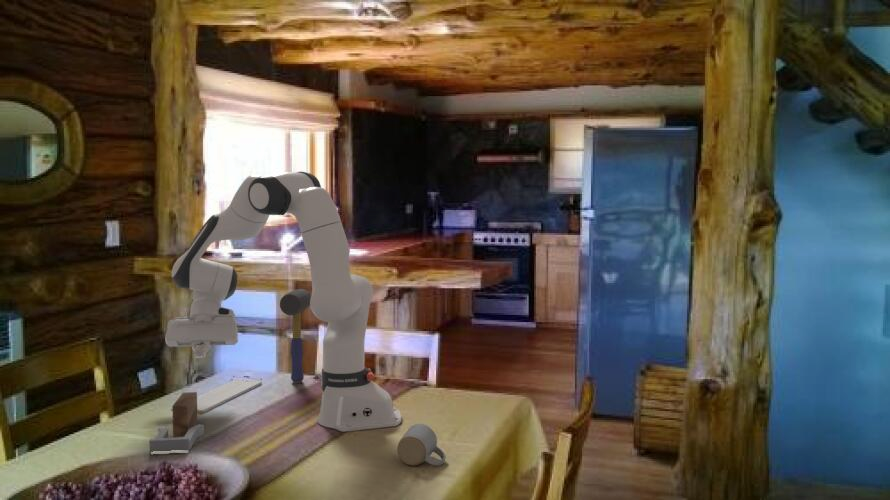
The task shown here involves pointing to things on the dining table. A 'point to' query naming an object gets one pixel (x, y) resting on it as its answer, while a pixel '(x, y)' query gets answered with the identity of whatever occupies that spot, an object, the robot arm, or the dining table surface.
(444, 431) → the dining table surface
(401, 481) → the dining table surface
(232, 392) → the baseboard molding
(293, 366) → the rubber mallet
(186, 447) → the grey channel
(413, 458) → the ceramic mug
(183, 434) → the walnut plank
